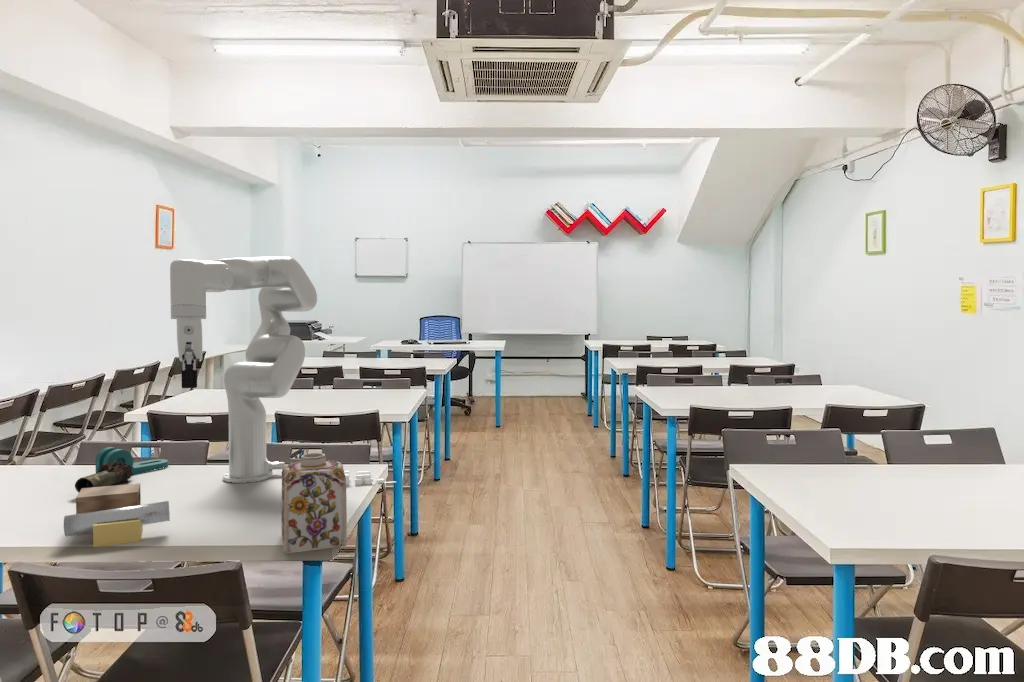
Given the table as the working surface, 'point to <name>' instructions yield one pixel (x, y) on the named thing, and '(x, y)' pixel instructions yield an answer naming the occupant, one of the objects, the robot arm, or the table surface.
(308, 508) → the decorative jar
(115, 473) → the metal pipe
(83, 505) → the walnut block
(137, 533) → the ochre V-block
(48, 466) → the table surface
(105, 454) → the bracket
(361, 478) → the modular blocks
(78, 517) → the steel axle
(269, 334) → the robot arm
